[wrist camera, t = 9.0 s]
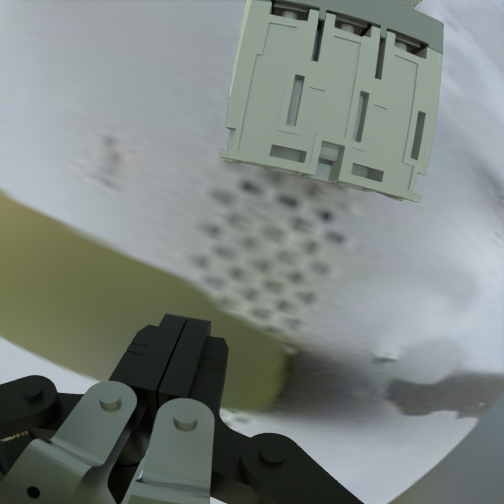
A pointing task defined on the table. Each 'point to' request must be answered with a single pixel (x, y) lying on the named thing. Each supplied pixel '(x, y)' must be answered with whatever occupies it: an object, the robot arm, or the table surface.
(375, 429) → the table surface
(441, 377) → the table surface
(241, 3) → the table surface
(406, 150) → the circuit breaker
